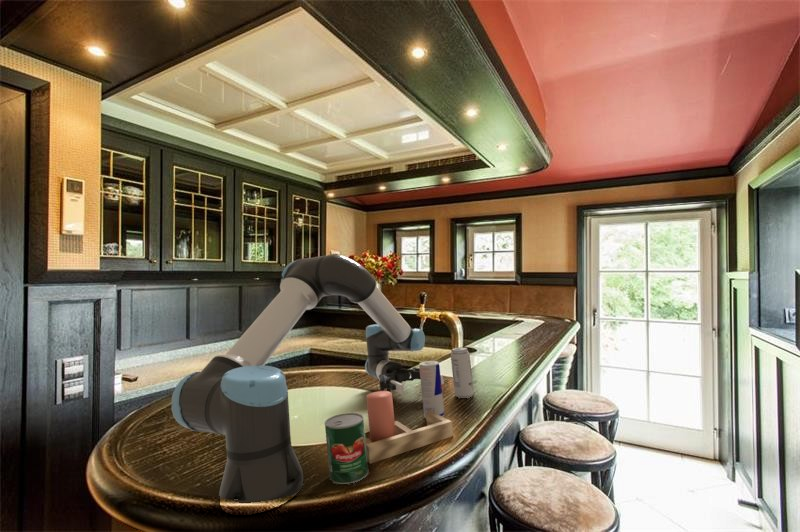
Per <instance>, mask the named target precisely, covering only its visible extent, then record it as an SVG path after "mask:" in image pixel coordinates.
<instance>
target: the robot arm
mask: <svg viewBox="0 0 800 532" xmlns="http://www.w3.org/2000/svg"><path fill="white" fill-rule="evenodd" d="M281 277H282V278H281V279H280V284H279V289H280V291H279V293H278V294H276V296H275V297H274V298H273V299H272V300H271V302H270V303H269V304H268V305H267V306H266V307H265V308H264V309H263V311H262V312H261V313H260V314H259V316H257V317H256V319H255V320H253V322H252V324H251V325H249V327H248V328H247V329H246V330H245V332H244V333H243V334H242V335H241V336H240V337H239V338H238V339H237V341H236V342H235V343H234V344H233V345H232V347H230V349H229V350H228V351H227V352H226V353H225V354H221V355H220V354H218V355H215V356H214V357H213V358H212V359H211V360H210V361H209V362H208V363H207V364H206V366H205V367H204V368H203V369H202V370H201V371H195V372H192V373H189V374H188V375H187V374H186V375H185V377H183V378H182V379H181V380H180V381H178V383H177V384H176V386H175V389H174V390H173V393H172V395H171V413H172V416H173V418H174V419H175V421H176V422H177V423H178V425H180V426H182V427H184V428H186V429H189V430H191V431H193V432H197V433H199V432H204V433H210V434H217V435H222V436H225V448H226V463H225V467H224V471H223V474H222V475H223V476H222V480H221V484H220V488H219V491H218V492H219V493H218V497H219V496H220V497H221V498H224V499H228V500H232V501H235V502H239V503H251V502H261V501H266V500H273V499H279V498H284V497H287V496H291V495H293V494H295V493H297V492H298V491H299V490H300V489H301V487H302V485H303V486H304V484H303V481H304V471H303V468H302V465H301V464H300V461H299V459H298V457H297V453H296V452H295V449H294V447H293V445H292V437H291V425H290V424H291V422H290V407H289V405H290V404H289V388H288V386H287V379H286V375H285V372H283V370H282V369H280V368H278V367H276V366H271V365H266V364H267V363H268V361H269V360H270V358H272V356H273V354H274V353H275V352H276V351H277V349H278V347H280V346H281V344H282V342H284V340H285V338H286V337H287V336H288V334H289V333H290V332H291V330H292V329H293V328H294V326H295V325H296V324H297V322H298V321H299V320H300V319H301V317H302V316H303V314H304V313H305V312H306V311H310V310H312V309H315V307H316V306H317V305H318V303H319V302H320V301H321V299H322V298H324V297H330V296H342V297H345V298H347V299H348V300H349V301H350V302H351V303H354V304H357V305H359V306H360V308H361V309H362V310H363V311H365V313H366V314H367V315H368V316H369V317H370V318H371V319H372V321H374V322H375V324H370V325H367V326H366V327H365V341H366V349H367V359H366V360H365V364H364V369H365V372H366V373H367V375H369V376H370V377H372V379H373V378H374V379H377V380H378V382H379V388H380V389H379V391H385V389H386V391H388V392H391V393H392V391H393V392H394V393H397V394H398V395H404V394H405V391H404V384H403V382H406V381H407V382H412V381H414V380H421V379H420V369H419V367H412V369H411V368H410V369H409V368H405V367H404V365H403V364H401V363H400V362H398V361H394V360H390V359H389V358H390V357H389V352H412V353H413V352H418V351H419V352H420V351H422V350H423V348H424V347H425V345H426V344H425V343H426V336H425V333H424V331H423V329H420V328H416V327H415V328H412V327H411V326H410V325H409V323H408V322H407V321H406V320H405V319H404V318H403V316H402V315H401V314H400V312H399V311H398V310H397V309H396V307H395V306H393V304H392V303H391V302H390V301H389V299H388V298H387V297H386V296H385V295H384V294H383V292H382V291H381V290H380V289H379V287H378V285H377V280H376V278H375V277H374V276H373V274H372V273H370V272H369V271H368V269H366V268H365V267H364V266H363V265H362V264H360V263H359V262H357V261H355V260H353V259H352V258H350V257H348V256H345V255H343V254H333V253H332V254H328V255H322V256H321V255H320V256H313V257H309V258H308V257H307V258H306V257H304V258H298V259H296V260H294V261H291V262H290V263H288V264H287V265H286V266H285V267H284V269H283V270H282V272H281ZM440 376H441V385H444V384H445V382H444V375H443V374H442V373H440ZM302 488H303V487H302ZM301 490H302V489H301ZM234 499H238V500H234Z"/></svg>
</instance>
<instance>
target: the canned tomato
mask: <svg viewBox="0 0 800 532" xmlns="http://www.w3.org/2000/svg"><path fill="white" fill-rule="evenodd" d="M364 421H365V420H364V416H363V414H360V413H356V412H349V413H348V412H347V413H345V412H344V413H341V414H337V415H333V416H331V417H329V418H327V419H326V420H325V421H324V427H325V428H324V429H325V438H326V440H325V442H326V452H327V453H326V454H327V461H328V462H327V463H328V465H327V466H328V472H329V473H328V474H329V476H330V478H329V480H330V479H331V480H332V481H333V482H335V483H339V484H348V485H350V484H349V483H353V484H356V483H359V482H361V481H362V479H363V478H364V479H366V478H367V476H368V475H369V467H368V466H369V465H368V463H369V462H368V461H367V452H366V441H365V437H366V431H365V422H364ZM364 479H363V480H364ZM360 480H361V481H360ZM358 481H359V482H358ZM333 482H332V483H333ZM355 482H356V483H355ZM335 483H334V484H335Z"/></svg>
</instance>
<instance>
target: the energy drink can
mask: <svg viewBox="0 0 800 532" xmlns="http://www.w3.org/2000/svg"><path fill="white" fill-rule="evenodd" d="M450 360H451V362H450V363H451V372H452V380H453V381H452V382H453V390H454V395H455V396H456V398H457V397H458V399H460V398H467V399H470V397H471V398H472V397H473V395H474V393H475V392H474V383H473V374H472V373H473V372H472V365H471V364H472V363H471V354H470V352H469V351H468V347H462V346H461V347H460V346H459V347H454V348H452V349H451V353H450Z"/></svg>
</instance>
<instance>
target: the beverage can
mask: <svg viewBox="0 0 800 532" xmlns="http://www.w3.org/2000/svg"><path fill="white" fill-rule="evenodd" d="M418 368H419V369H420V379H419V380H420V389H421V398H422V408H423V417H424V419H426V420H427V418H426V412H429V411H432V412H434V413H436V414H438V415H440V416H442V417H444V416H445V407H444V398H443V388H442V384H441V376H440V374H441V367H440V361H437V360H427V361H421V362H419V367H418ZM444 418H445V417H444Z"/></svg>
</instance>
